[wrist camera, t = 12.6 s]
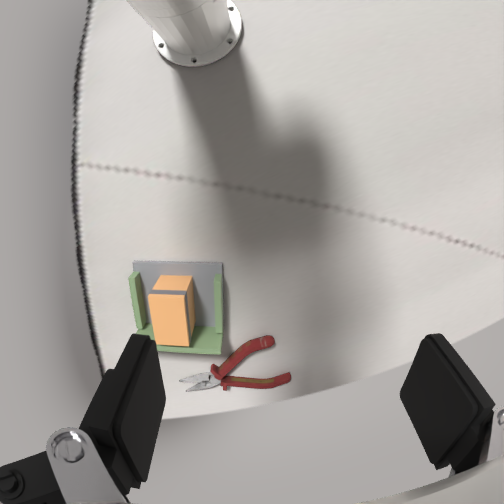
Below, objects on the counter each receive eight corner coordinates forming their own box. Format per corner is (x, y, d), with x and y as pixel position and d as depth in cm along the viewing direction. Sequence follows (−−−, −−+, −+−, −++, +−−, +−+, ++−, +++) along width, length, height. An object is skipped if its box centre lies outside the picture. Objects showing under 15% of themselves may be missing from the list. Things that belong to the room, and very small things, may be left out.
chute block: (160, 274, 46) (147, 296, 40) (192, 275, 46) (184, 297, 40) (166, 319, 49) (155, 344, 42) (196, 320, 49) (189, 346, 43)
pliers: (169, 361, 54) (166, 370, 51) (271, 330, 51) (272, 339, 49) (197, 400, 58) (195, 409, 55) (291, 374, 55) (293, 384, 53)
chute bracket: (134, 260, 46) (118, 278, 40) (222, 262, 46) (218, 282, 40) (143, 325, 50) (132, 348, 44) (223, 329, 51) (220, 354, 44)
